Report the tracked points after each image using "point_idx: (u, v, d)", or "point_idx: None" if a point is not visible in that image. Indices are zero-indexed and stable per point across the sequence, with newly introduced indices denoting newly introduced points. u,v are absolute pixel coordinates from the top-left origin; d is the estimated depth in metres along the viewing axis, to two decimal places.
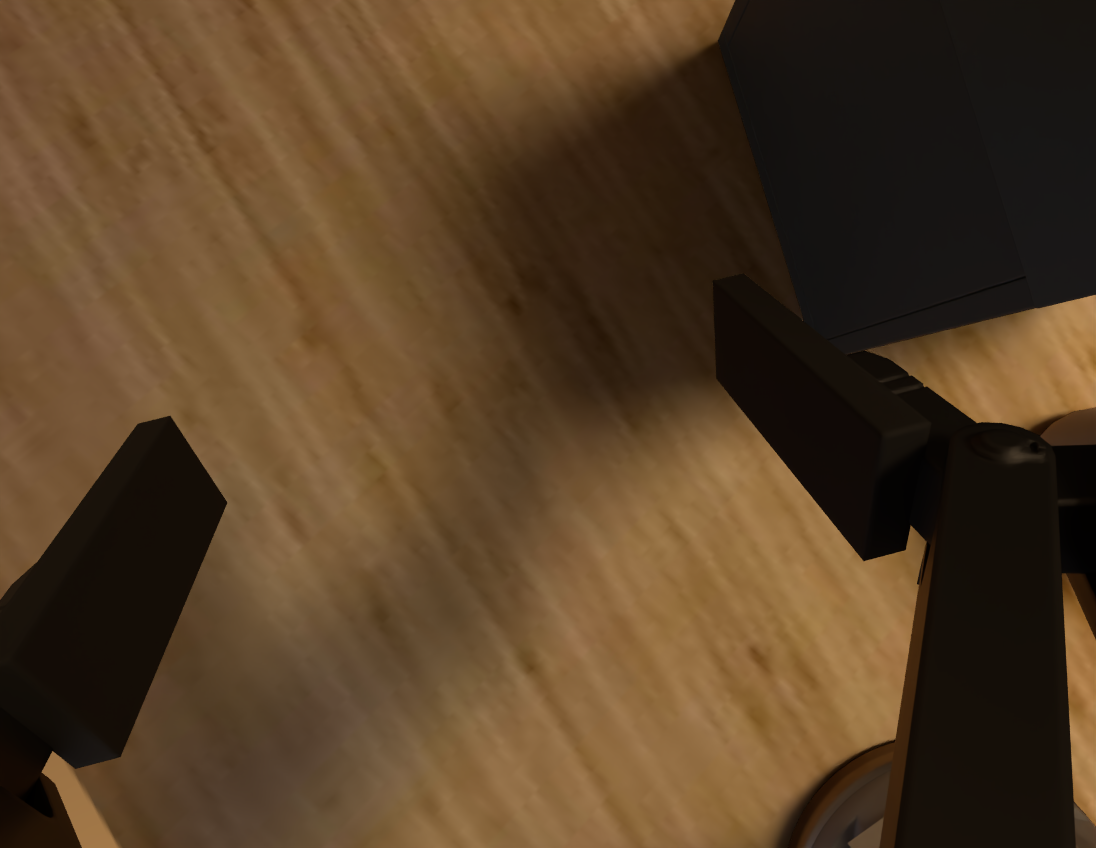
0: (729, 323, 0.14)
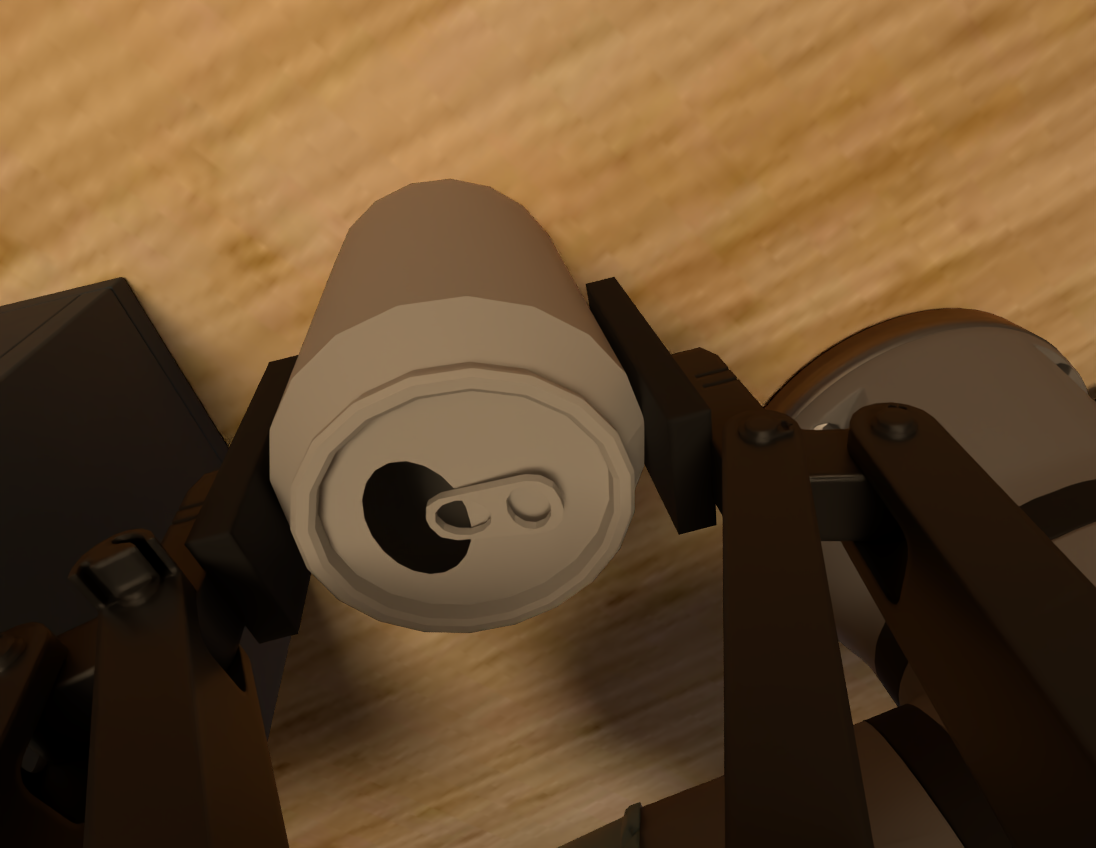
0: (597, 322, 0.15)
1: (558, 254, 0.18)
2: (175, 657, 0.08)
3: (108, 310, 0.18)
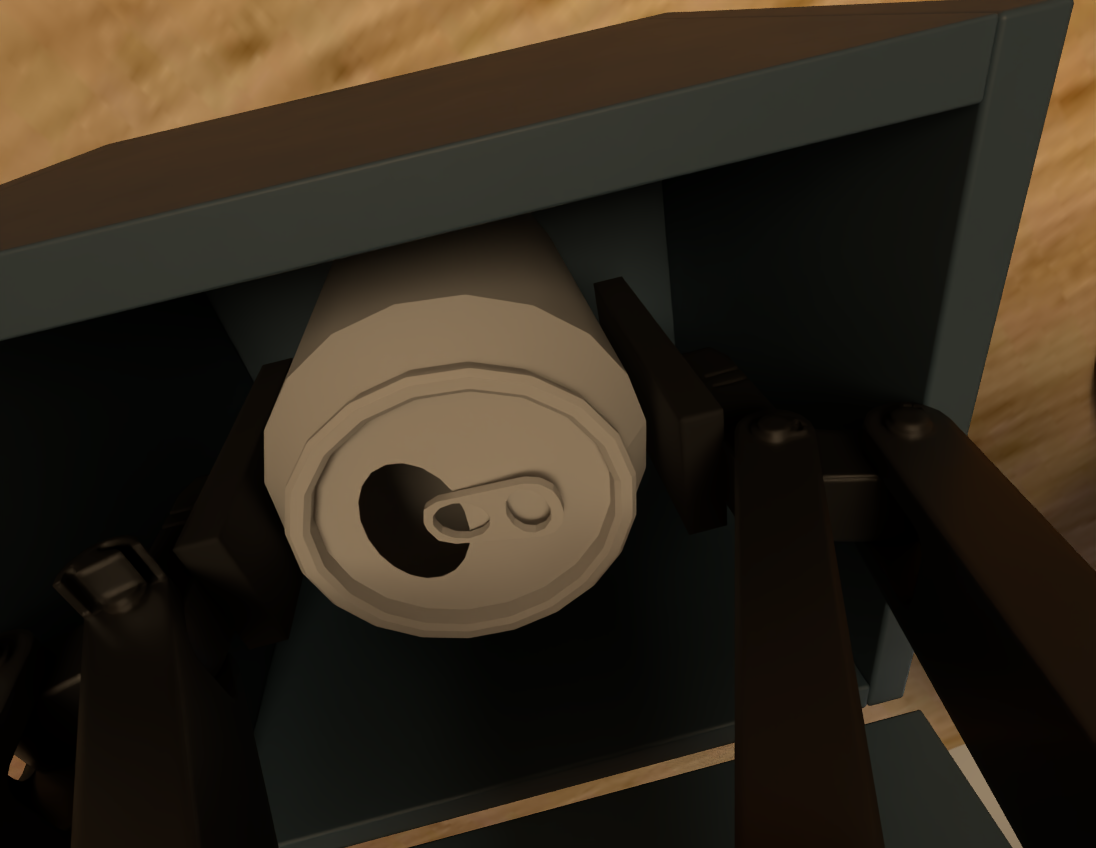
0: (605, 322, 0.15)
1: (558, 254, 0.17)
2: (162, 663, 0.08)
3: None
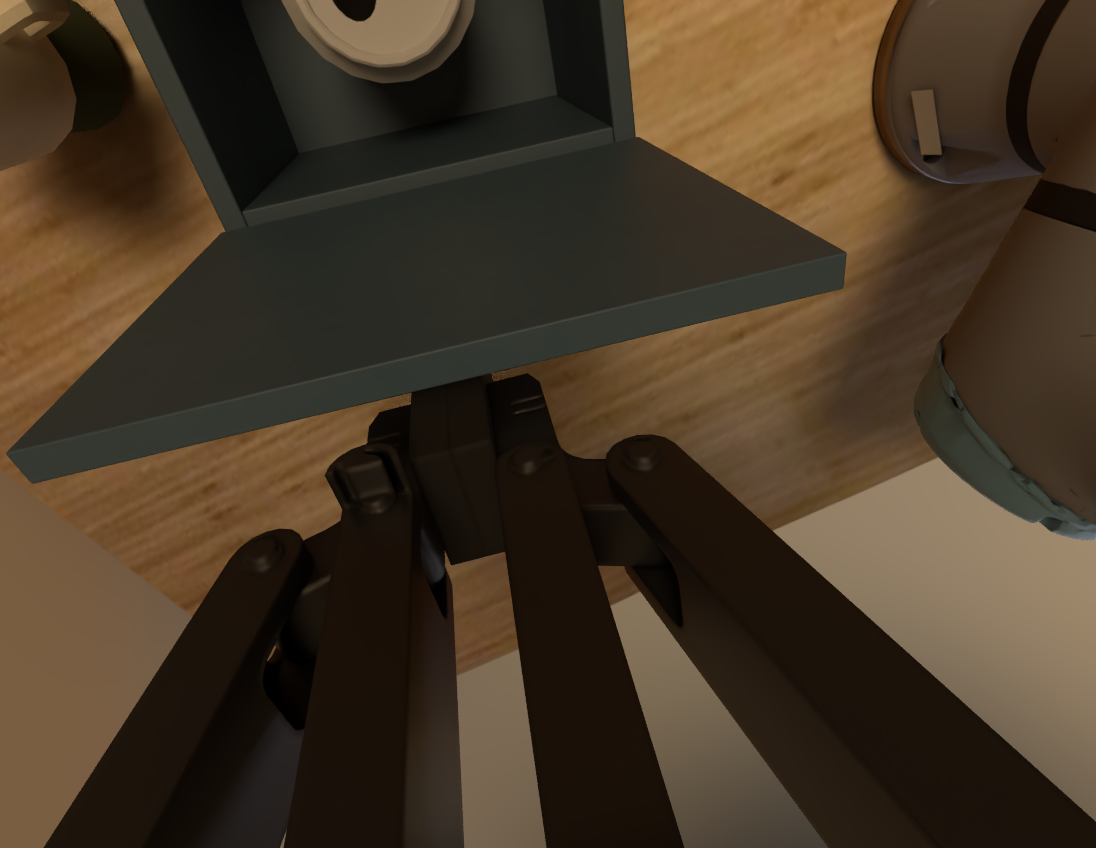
0: None
1: None
2: (398, 575, 0.09)
3: None
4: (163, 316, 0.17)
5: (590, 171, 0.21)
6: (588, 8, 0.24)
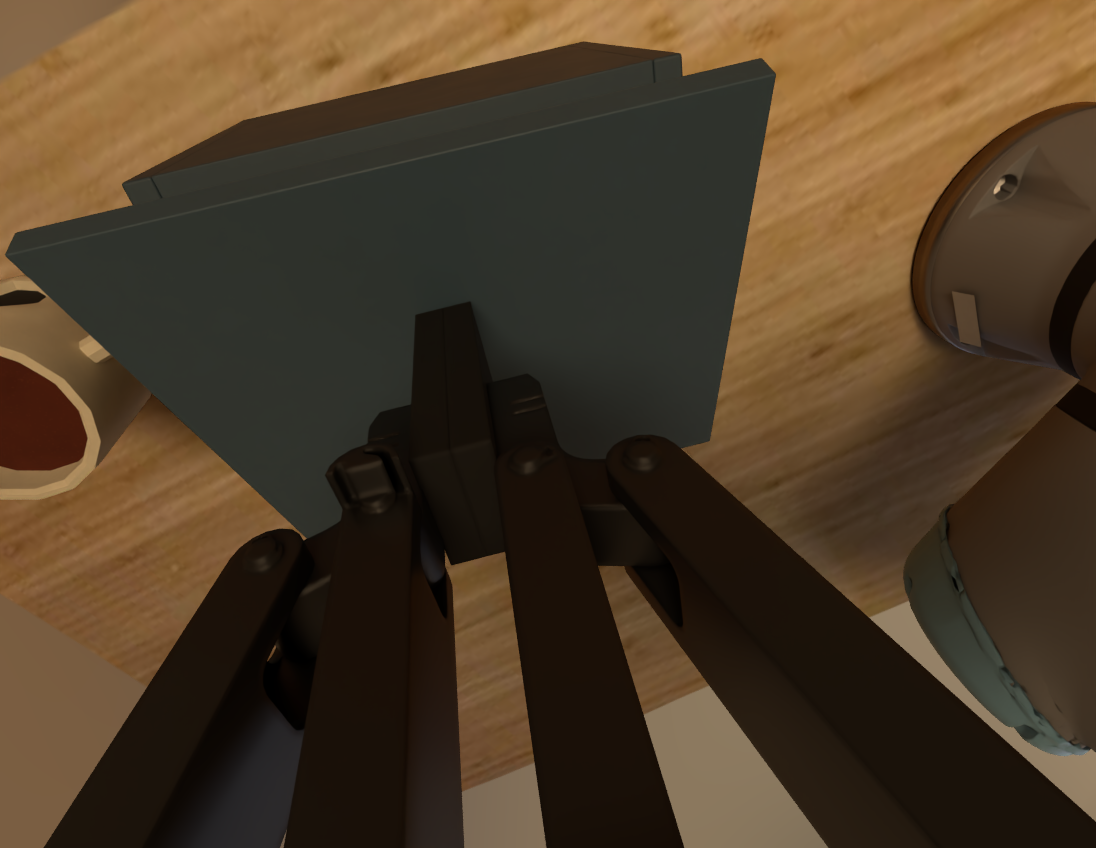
0: None
1: None
2: (398, 575, 0.09)
3: None
4: None
5: None
6: None
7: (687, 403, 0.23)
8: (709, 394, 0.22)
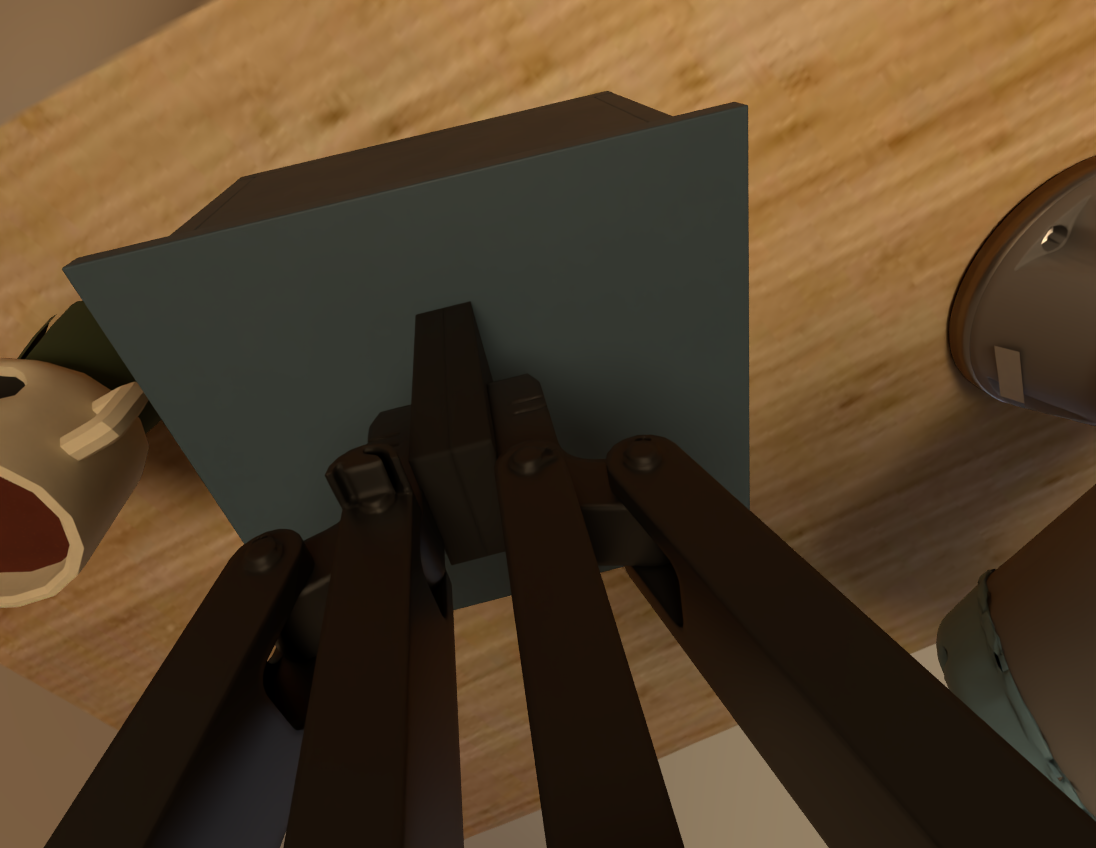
0: None
1: None
2: (398, 575, 0.09)
3: None
4: None
5: None
6: None
7: (717, 479, 0.21)
8: (739, 468, 0.21)
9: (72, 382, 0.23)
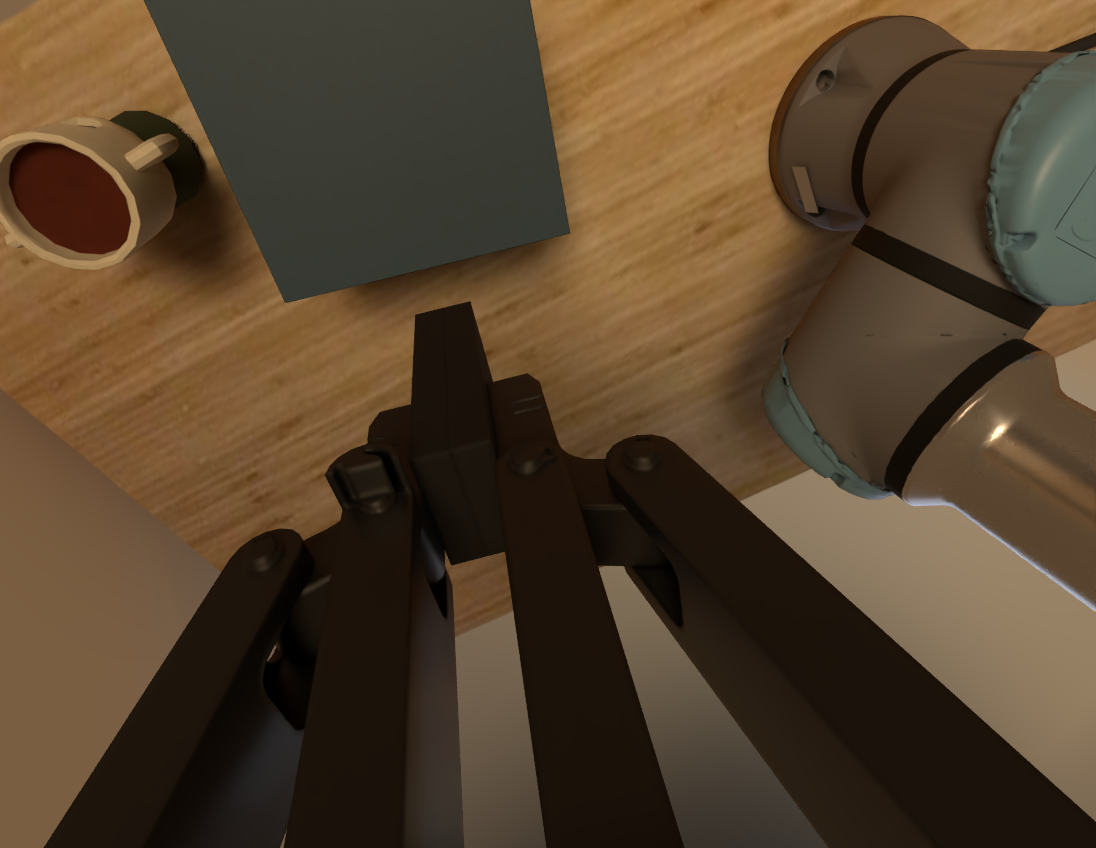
0: None
1: None
2: (398, 575, 0.09)
3: None
4: None
5: None
6: None
7: (539, 183, 0.34)
8: (553, 174, 0.34)
9: (129, 133, 0.35)
